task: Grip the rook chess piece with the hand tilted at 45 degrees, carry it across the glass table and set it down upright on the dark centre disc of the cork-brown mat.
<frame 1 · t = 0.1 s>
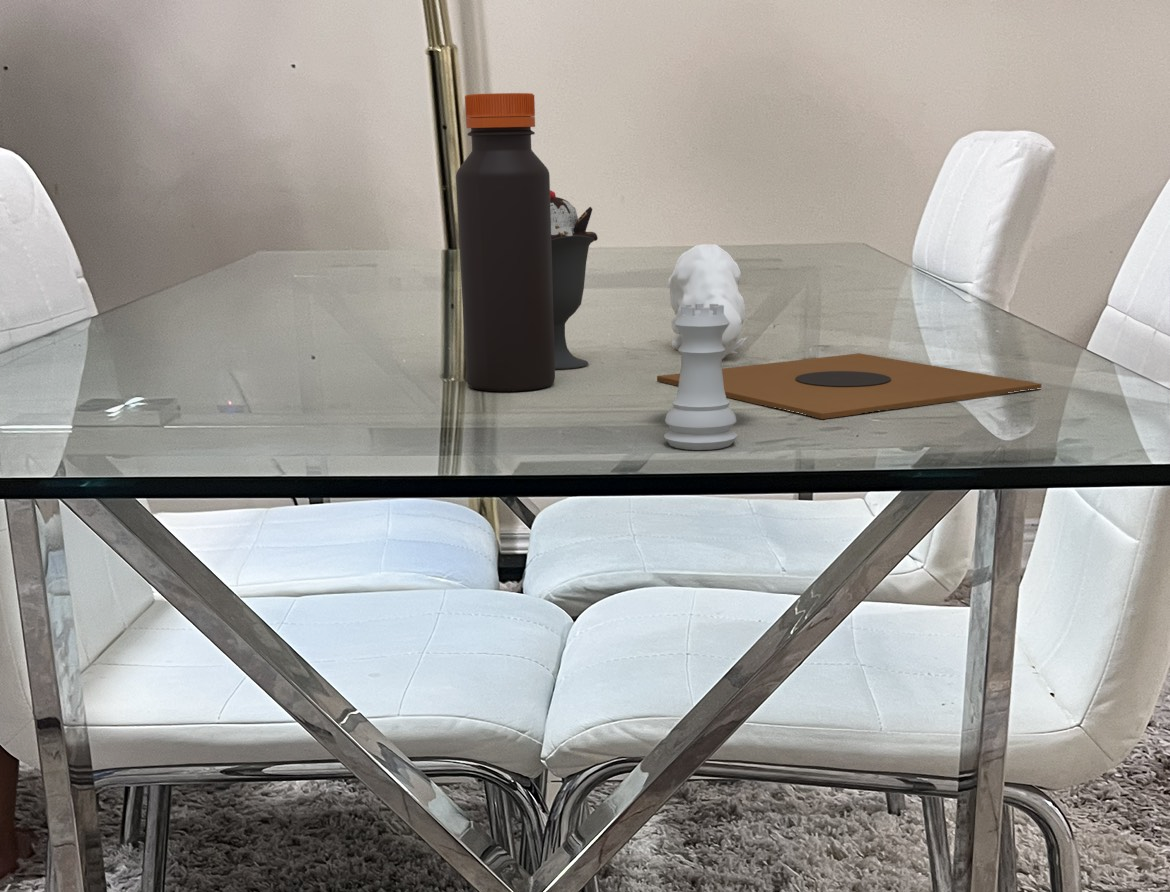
rook chess piece: (700, 447, 85), on the table
centre mat: (842, 385, 104), on the table
bottle: (511, 388, 107), on the table
sundae: (558, 367, 116), on the table
white animal figurine: (710, 355, 121), on the table
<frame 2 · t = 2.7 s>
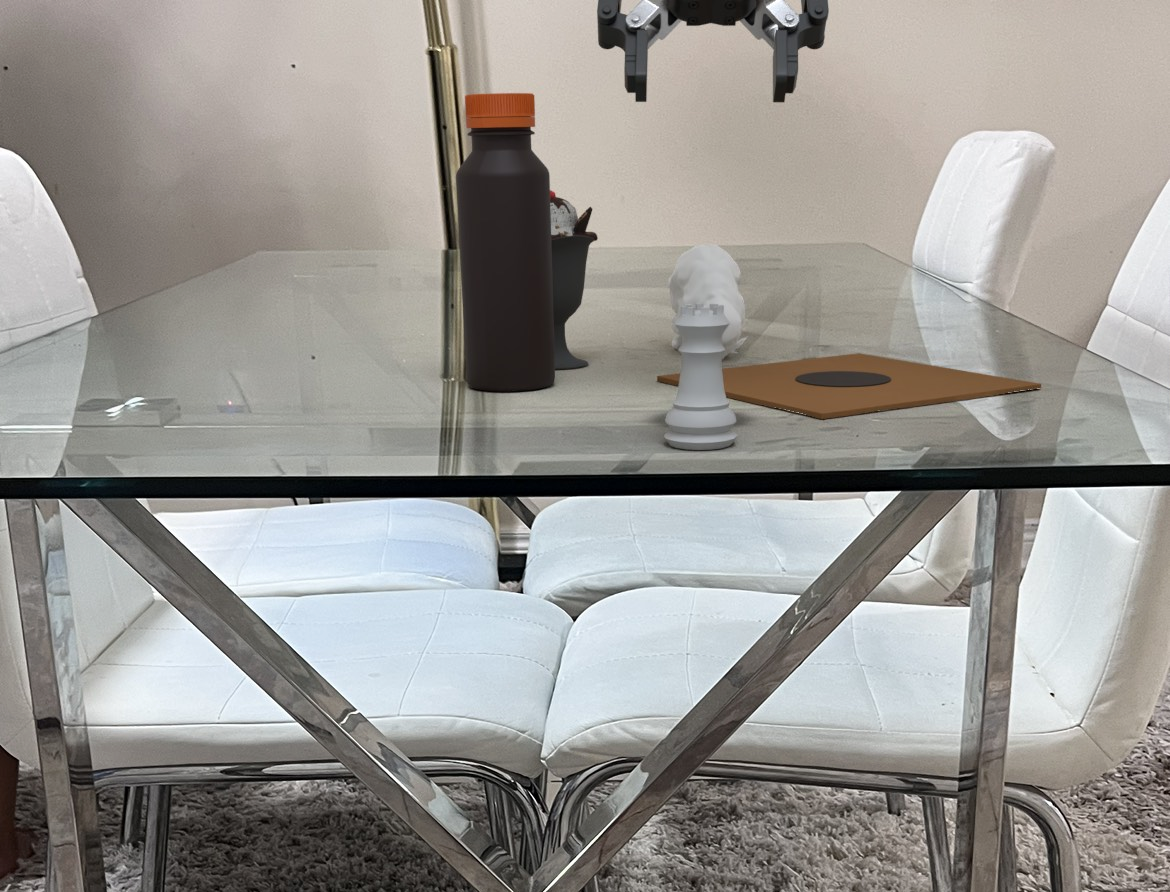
hand: (710, 92, 86), 19 cm above the table, tool tilted 40°, fingers open, 8 cm apart
nothing on the table moved.
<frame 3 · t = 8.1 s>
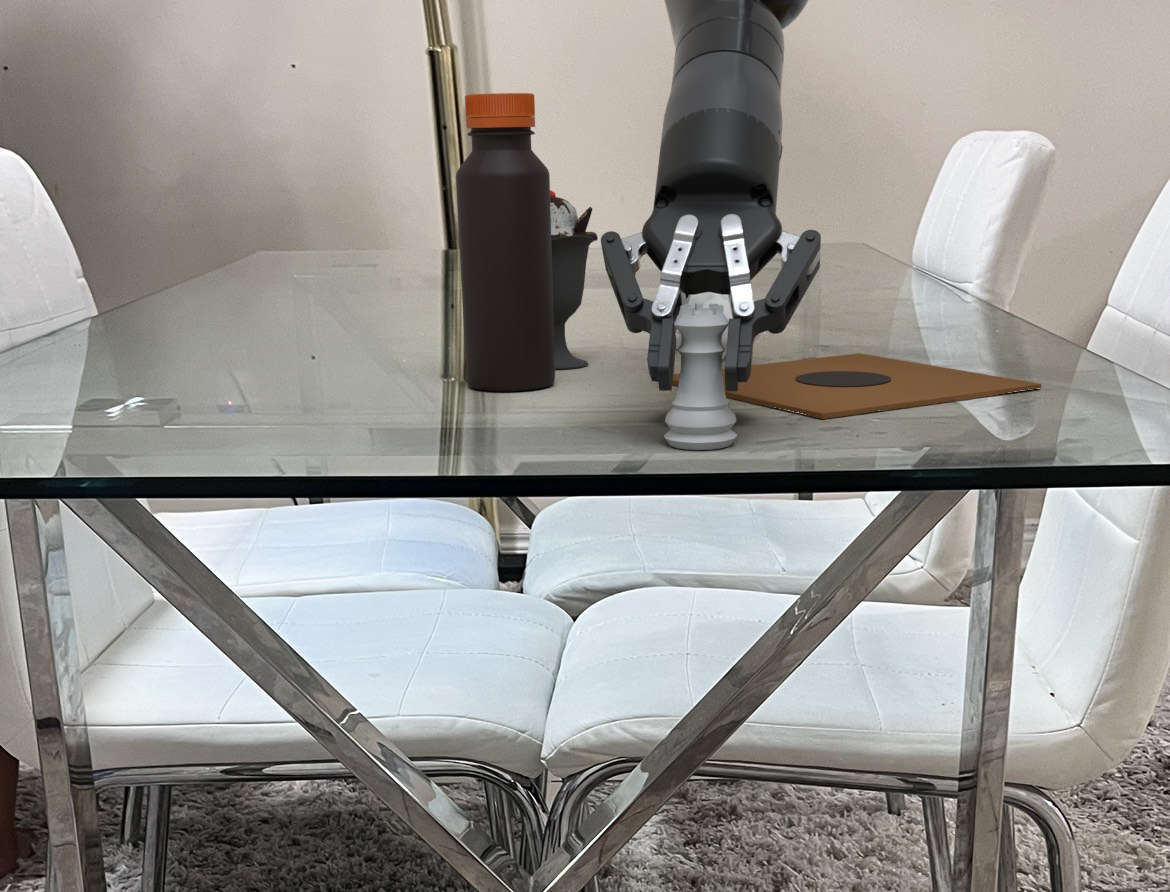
hand: (698, 381, 82), 4 cm above the table, tool tilted 45°, fingers closed on rook chess piece, 3 cm apart
rook chess piece: (700, 447, 85), on the table, touching gripper
everything else where it was.
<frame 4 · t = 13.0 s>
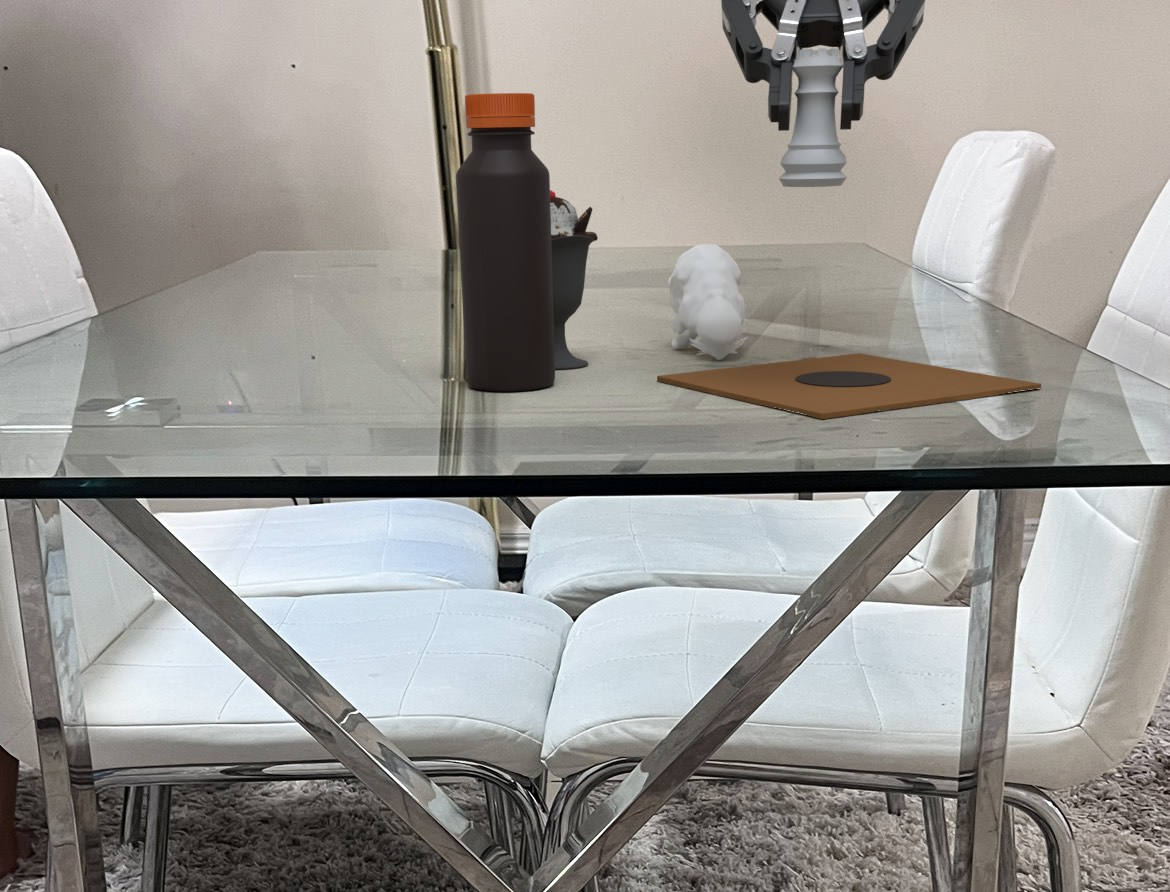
hand: (815, 119, 89), 18 cm above the table, tool tilted 45°, fingers closed on rook chess piece, 3 cm apart
rook chess piece: (812, 189, 93), point 14 cm above the table, touching gripper
everything else where it was.
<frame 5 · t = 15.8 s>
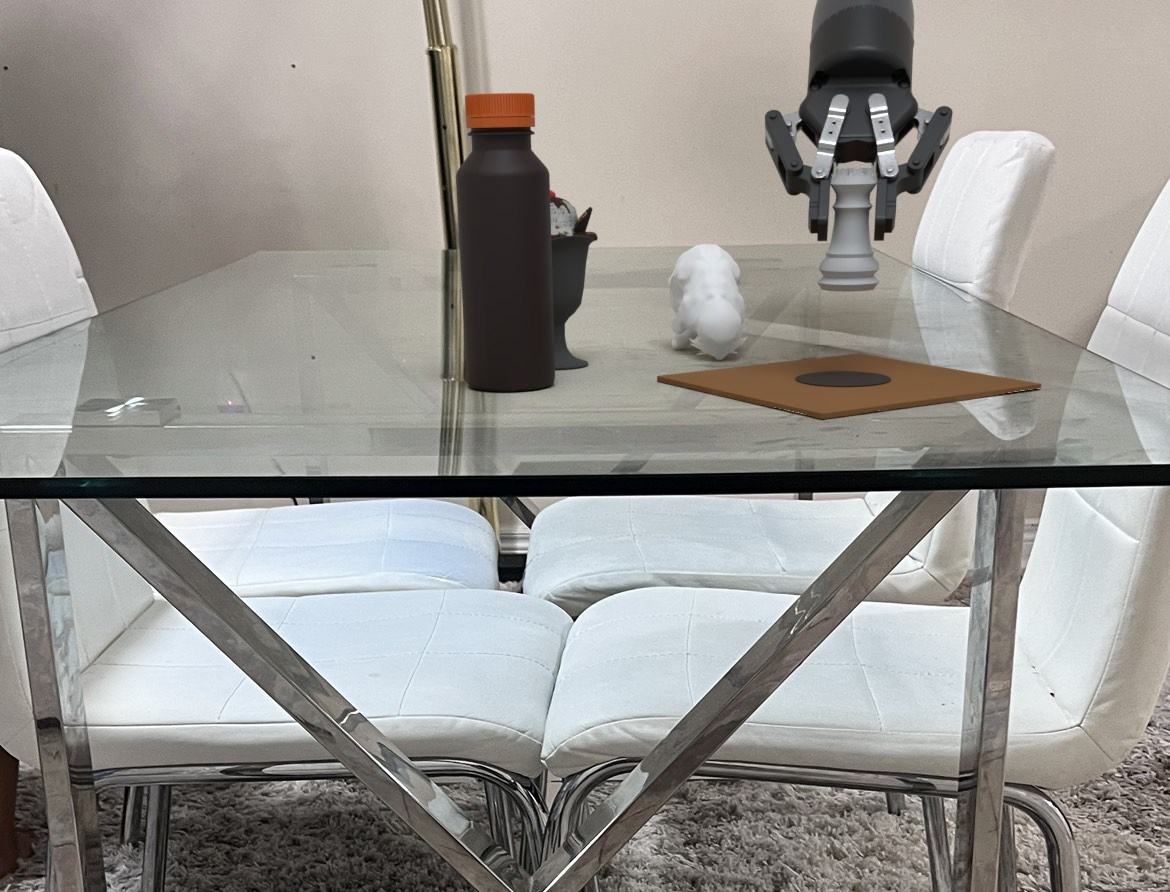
hand: (851, 231, 98), 11 cm above the table, tool tilted 45°, fingers closed on rook chess piece, 3 cm apart
rook chess piece: (847, 291, 102), point 7 cm above the table, touching gripper
everything else where it was.
when the fingers open (4 cm above the table, at t = 17.9 s): rook chess piece stays where it is, resting on centre mat.
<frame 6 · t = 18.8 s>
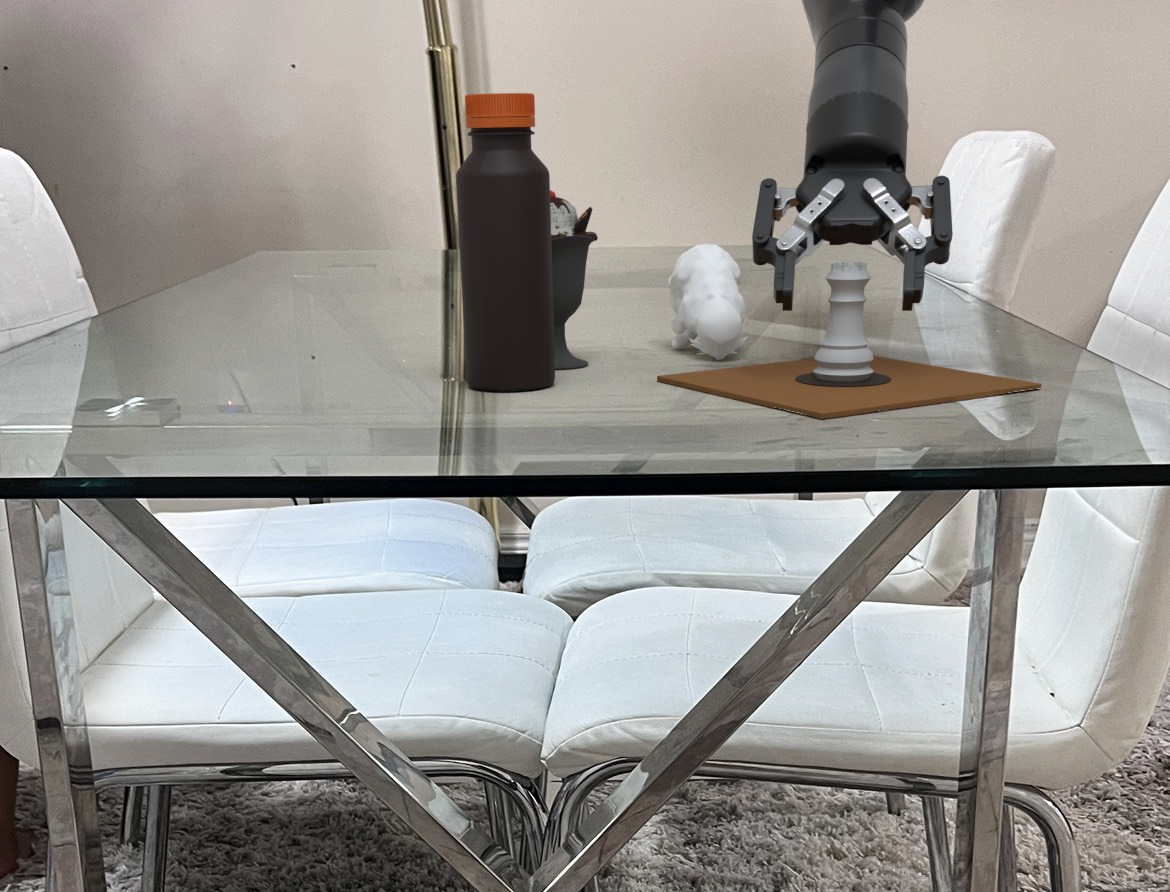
hand: (847, 303, 100), 6 cm above the table, tool tilted 45°, fingers open, 8 cm apart
rook chess piece: (842, 380, 104), resting on centre mat
everything else where it was.
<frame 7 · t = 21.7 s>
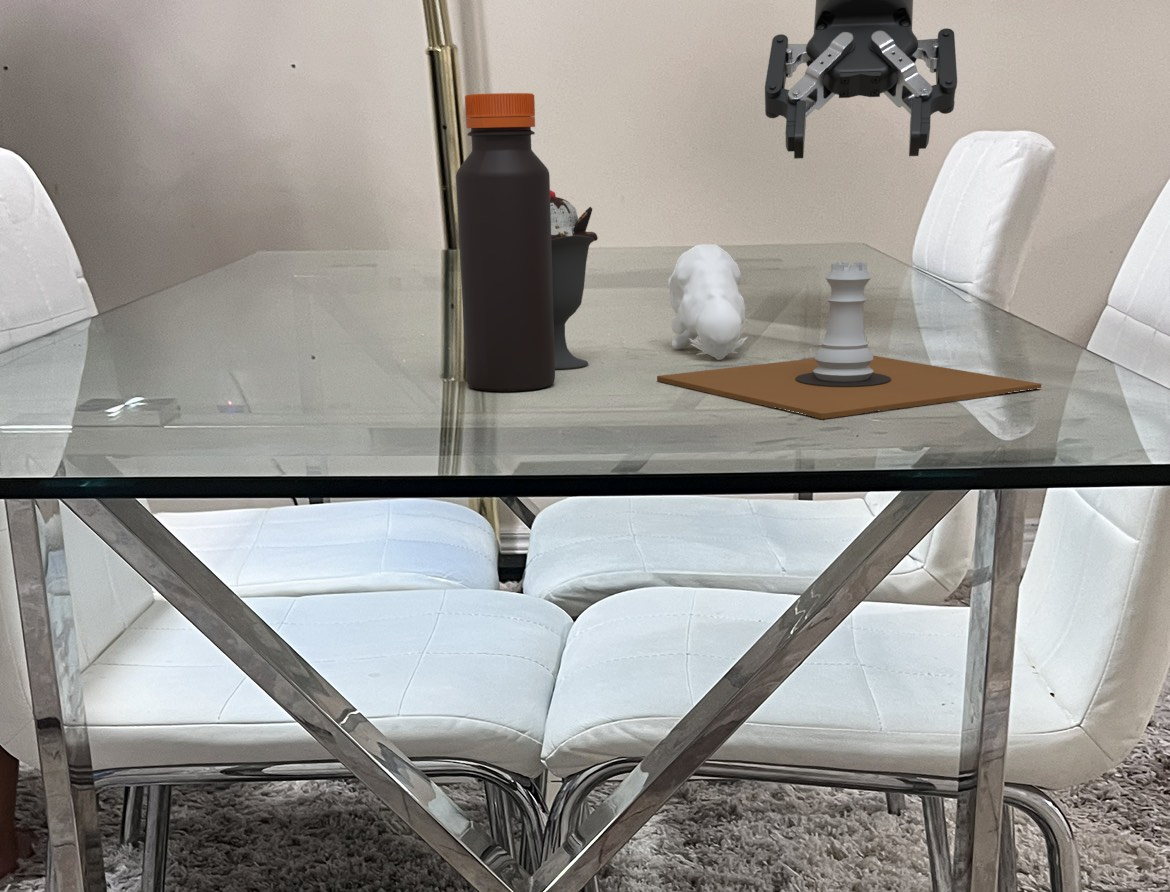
hand: (856, 149, 105), 16 cm above the table, tool tilted 45°, fingers open, 8 cm apart
nothing on the table moved.
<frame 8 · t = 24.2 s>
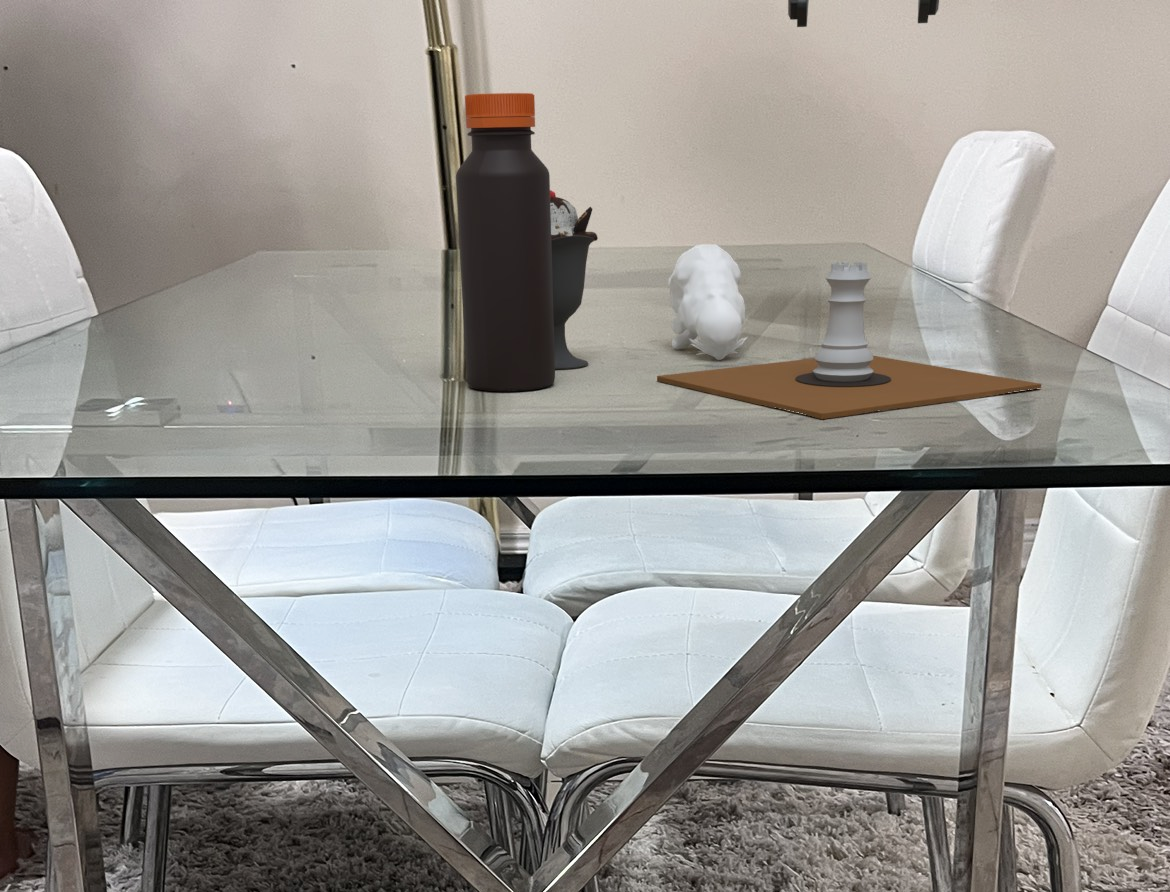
hand: (862, 15, 100), 25 cm above the table, tool tilted 45°, fingers open, 8 cm apart
nothing on the table moved.
at the end: rook chess piece inside the target area on the centre mat (0.2 cm from its centre), point 0.3 cm above the centre mat's base; rook chess piece tilted 0°; the gripper is holding nothing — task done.
